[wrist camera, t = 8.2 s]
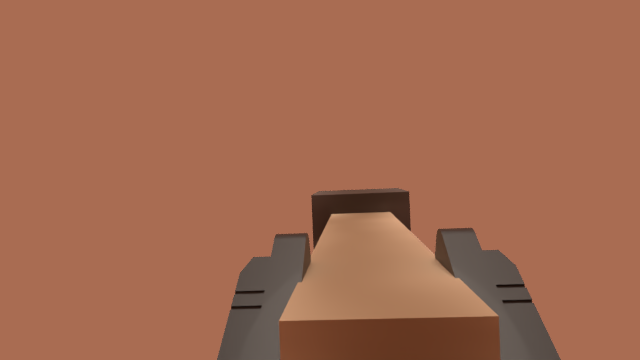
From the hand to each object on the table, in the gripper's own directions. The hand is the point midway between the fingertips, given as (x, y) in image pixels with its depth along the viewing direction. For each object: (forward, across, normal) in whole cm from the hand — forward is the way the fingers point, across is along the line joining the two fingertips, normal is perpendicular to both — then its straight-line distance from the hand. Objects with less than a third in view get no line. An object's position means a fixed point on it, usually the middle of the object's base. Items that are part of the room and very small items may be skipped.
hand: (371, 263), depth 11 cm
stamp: (+6, 0, +7) cm, 9 cm away
